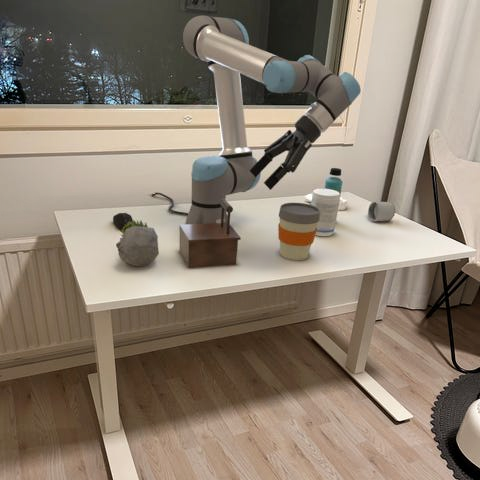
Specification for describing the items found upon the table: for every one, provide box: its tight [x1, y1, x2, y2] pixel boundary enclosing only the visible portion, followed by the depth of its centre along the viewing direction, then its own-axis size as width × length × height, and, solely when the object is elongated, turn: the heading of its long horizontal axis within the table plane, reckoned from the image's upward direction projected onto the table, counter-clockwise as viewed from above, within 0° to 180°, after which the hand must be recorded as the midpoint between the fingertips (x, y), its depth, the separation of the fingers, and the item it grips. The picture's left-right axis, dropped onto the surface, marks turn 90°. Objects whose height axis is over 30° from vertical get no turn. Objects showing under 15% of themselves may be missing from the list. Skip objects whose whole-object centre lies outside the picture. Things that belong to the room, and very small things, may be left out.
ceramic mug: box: [367, 200, 396, 222], centre depth 188 cm, size 11×8×8 cm
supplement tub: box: [310, 188, 341, 237], centre depth 168 cm, size 10×10×15 cm
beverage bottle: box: [324, 167, 343, 201], centre depth 178 cm, size 6×7×20 cm
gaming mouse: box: [112, 212, 133, 231], centre depth 162 cm, size 6×15×4 cm, turn 22°
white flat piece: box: [304, 192, 348, 211], centre depth 202 cm, size 3×18×15 cm
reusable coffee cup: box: [277, 202, 320, 261], centre depth 148 cm, size 13×13×15 cm
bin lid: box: [179, 199, 242, 243], centre depth 139 cm, size 15×13×9 cm
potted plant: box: [115, 218, 160, 267], centre depth 137 cm, size 12×13×15 cm
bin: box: [178, 227, 239, 269], centre depth 143 cm, size 15×13×8 cm
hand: (259, 180), depth 138 cm, fingers open, 13 cm apart
